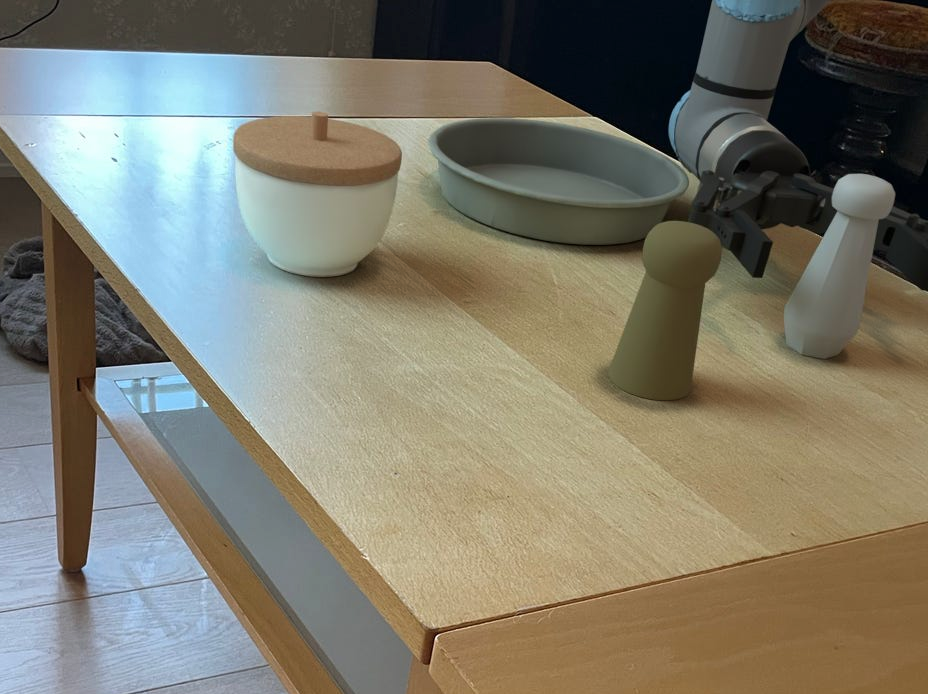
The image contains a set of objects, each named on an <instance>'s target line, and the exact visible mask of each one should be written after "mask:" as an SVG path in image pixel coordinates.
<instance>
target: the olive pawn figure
mask: <svg viewBox="0 0 928 694" xmlns="http://www.w3.org/2000/svg"><path fill="white" fill-rule="evenodd" d="M641 255H642V256H641V257H642V259H641V260H642V265H643V267H644V269H645V272H644V276H643V278H642V280H641V284H640V286H639V288H638V291H637V294H636V296H635V299H634V301H633V304H632V307H631V309H630V313H629V315H628V318H627V320H626V323H625V325H624V328H623V331H622V334H621V336H620V339H619V342H618V344H617V347H616V350H615V352H614V355H613V358H612V360H611V363H610V366H609V368H608V372H607V376H608V378H609V380H610V382H611V383H612V384H613V385H615V386H616V387H617V388H619V389H620V390H623V391H624V392H626V393H628V394H631V395H633V396H636V397H640V398H644V399H649V400H654V401H673V400H679V399H682V398H685V397H687V396H688V395H689V394H690V392H691V391H692V384H693V378H694V377H693V376H694V369H695V362H696V354H697V348H698V340H699V334H700V326H701V319H702V311H703V303H704V298H705V297H704V296H705V289H706V284H707V283H708V281H710V280H711V279H712V278H713V277H714V276H715V275H716V273H717V271H718V269H719V267H720V265H721V262H722V261H721V260H722V248H721V243H720V240H719V238H718V237H717V236H716V235H715V234H714V233H713V232H712V231H711V230H709V229H707V228H705V227H703V226H700V225H697V224H694V223H689V222H687V221H681V220H667V221H662V222H661V223H660V224H657V225H656V226H654V228H653V229H652V230H651V231H650V232H649V233H648V235H647V237H646V238H644V242H643V246H642V252H641Z"/></svg>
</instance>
